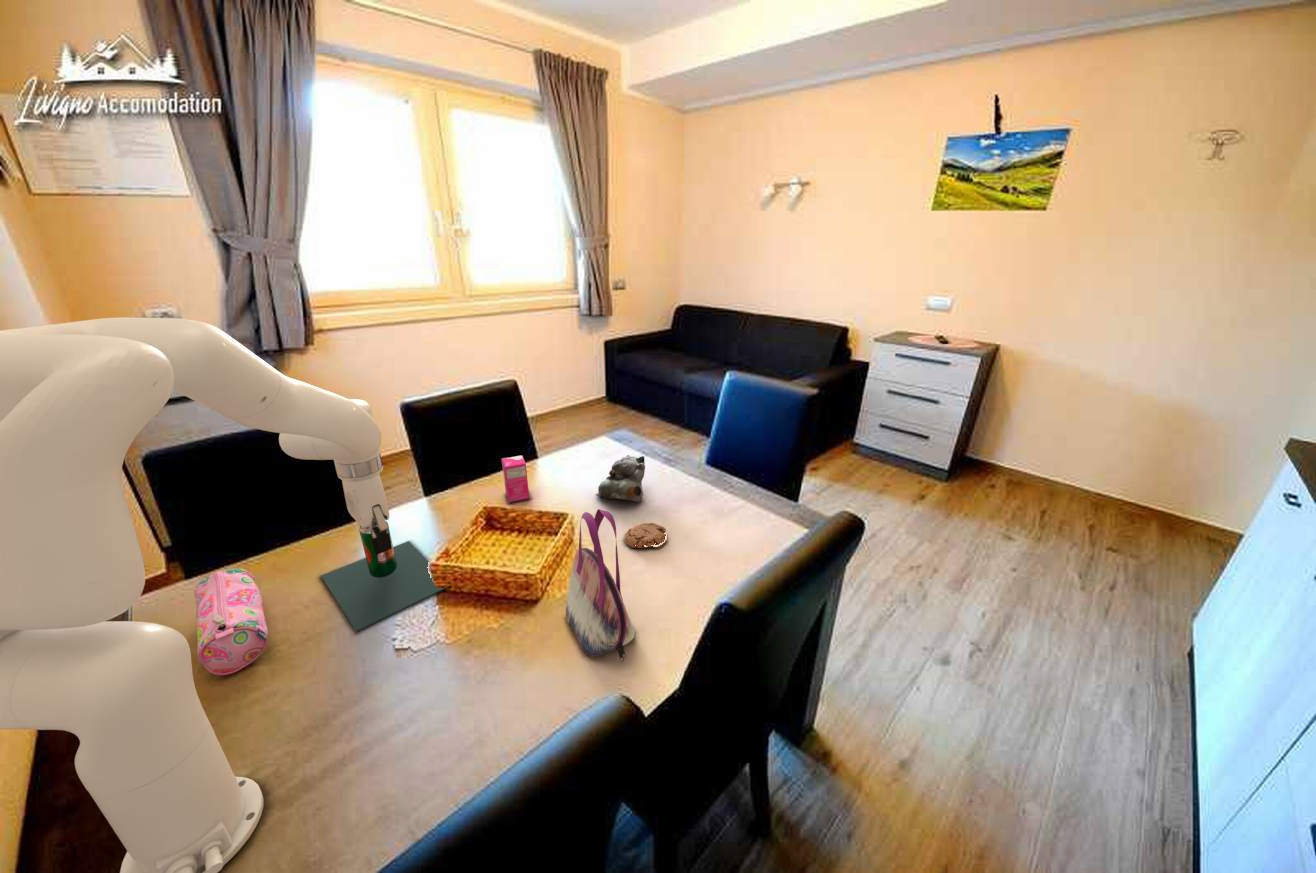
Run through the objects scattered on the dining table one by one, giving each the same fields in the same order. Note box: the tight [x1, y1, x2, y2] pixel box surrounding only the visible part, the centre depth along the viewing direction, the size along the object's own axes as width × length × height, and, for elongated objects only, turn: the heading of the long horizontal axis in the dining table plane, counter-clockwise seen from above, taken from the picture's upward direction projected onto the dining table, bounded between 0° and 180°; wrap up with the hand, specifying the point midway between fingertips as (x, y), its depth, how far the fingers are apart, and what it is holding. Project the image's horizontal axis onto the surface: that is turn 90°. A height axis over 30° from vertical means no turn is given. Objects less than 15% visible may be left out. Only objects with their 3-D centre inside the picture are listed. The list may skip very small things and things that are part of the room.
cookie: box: [624, 522, 669, 549], centre depth 117 cm, size 10×11×3 cm
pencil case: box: [193, 567, 269, 676], centre depth 85 cm, size 21×9×9 cm, turn 41°
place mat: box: [320, 540, 448, 633], centre depth 101 cm, size 22×18×1 cm
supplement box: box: [501, 455, 531, 504], centre depth 133 cm, size 6×6×12 cm
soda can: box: [358, 519, 397, 578], centre depth 98 cm, size 5×5×12 cm
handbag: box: [565, 508, 636, 663], centre depth 86 cm, size 21×10×25 cm, turn 30°
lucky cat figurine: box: [594, 454, 646, 503], centre depth 136 cm, size 15×12×14 cm
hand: (377, 544), depth 98 cm, fingers closed on soda can, 5 cm apart
